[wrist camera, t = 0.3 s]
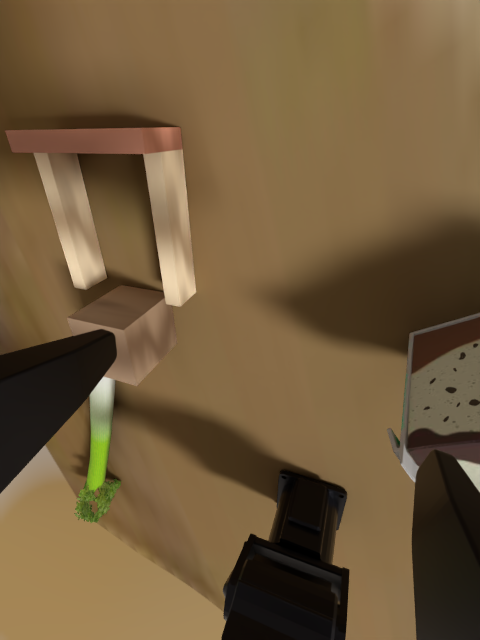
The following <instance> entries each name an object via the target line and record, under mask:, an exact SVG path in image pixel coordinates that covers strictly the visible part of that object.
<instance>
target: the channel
mask: <svg viewBox="0 0 480 640" xmlns="http://www.w3.org/2000/svg"><path fill="white" fill-rule="evenodd" d="M5 132H6V135H7V138H8V141H9V144H10V147H11V150H12V153H34V156H35V159H36V162H37V165H38V169H39V172H40V175H41V179H42V182H43V185H44V188H45V192H46V195H47V198H48V201H49V205H50V208H51V211H52V215H53V218H54V221H55V224H56V228H57V231H58V234H59V238H60V241H61V244H62V247H63V251H64V254H65V257H66V260H67V264H68V267H69V270H70V274H71V277H72V280H73V283H74V287H75V288H79V289H85V290H87V289H88V288H90V287H92V286H94V285H96V284H97V283H99V282H101V281H103V280H105V279H106V278H107V275H106V271H105V267H104V262H103V258H102V254H101V250H100V246H99V242H98V238H97V234H96V230H95V226H94V222H93V217H92V213H91V209H90V205H89V201H88V197H87V193H86V189H85V185H84V181H83V177H82V172H81V168H80V164H79V160H78V156H77V153H98V154H143V155H144V162H145V168H146V175H147V182H148V188H149V195H150V202H151V208H152V215H153V222H154V228H155V235H156V242H157V248H158V255H159V261H160V268H161V275H162V281H163V288H164V295H165V301H166V304H168V305H174V306H181V305H182V304H184V303H185V302H186V301H187V300H188V299H189V298H190V297H191V296H193V295H194V294H195V293H196V286H195V276H194V265H193V254H192V244H191V233H190V223H189V212H188V201H187V191H186V180H185V170H184V159H183V148H182V138H181V127H162V128H105V129H52V130H5Z"/></svg>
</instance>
